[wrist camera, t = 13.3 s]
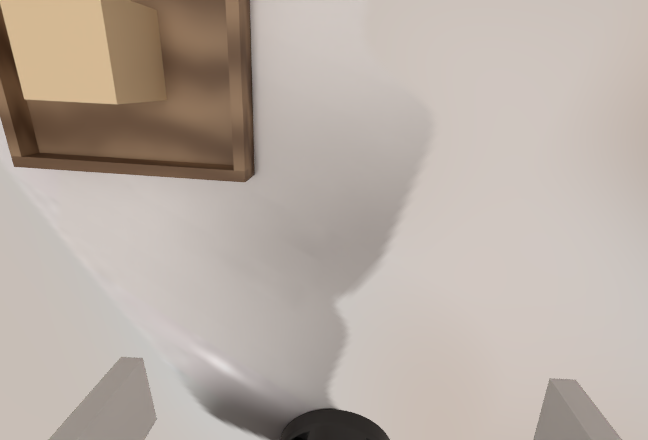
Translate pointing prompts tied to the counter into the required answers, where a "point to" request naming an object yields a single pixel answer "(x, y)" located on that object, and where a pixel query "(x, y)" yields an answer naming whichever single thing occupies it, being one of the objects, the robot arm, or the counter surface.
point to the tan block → (86, 50)
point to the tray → (151, 106)
